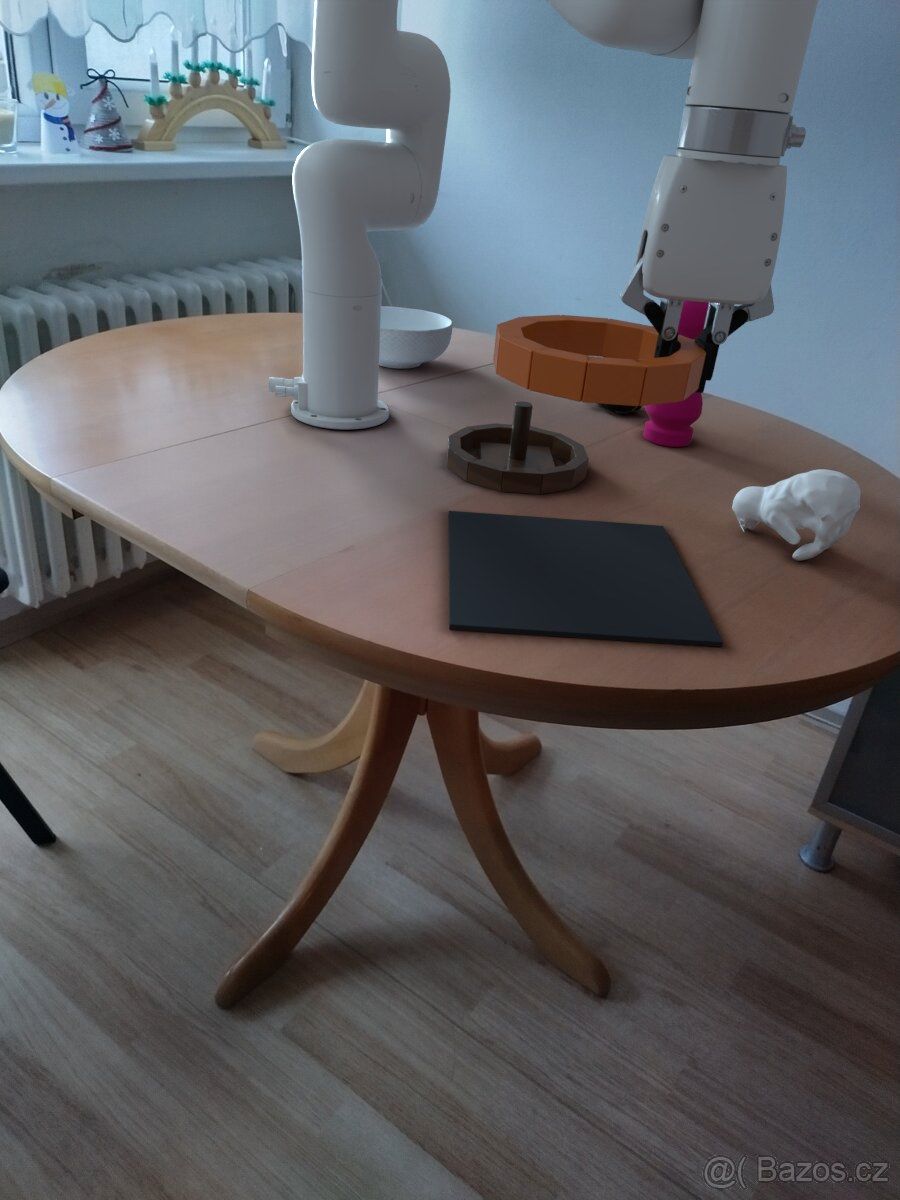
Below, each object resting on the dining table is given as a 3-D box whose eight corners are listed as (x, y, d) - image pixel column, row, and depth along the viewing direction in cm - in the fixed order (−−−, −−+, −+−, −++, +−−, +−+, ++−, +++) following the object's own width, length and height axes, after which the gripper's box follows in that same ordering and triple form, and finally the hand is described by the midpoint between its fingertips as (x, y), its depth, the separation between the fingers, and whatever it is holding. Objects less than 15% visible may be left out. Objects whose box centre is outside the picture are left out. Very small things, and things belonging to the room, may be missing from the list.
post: (481, 477, 97) (488, 412, 93) (479, 451, 104) (485, 390, 100) (555, 482, 97) (565, 418, 94) (548, 456, 105) (556, 395, 101)
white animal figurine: (847, 486, 78) (727, 458, 86) (827, 572, 82) (714, 537, 90) (874, 472, 82) (757, 446, 90) (855, 554, 86) (744, 522, 94)
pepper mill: (695, 452, 110) (733, 288, 100) (638, 444, 111) (670, 281, 101) (693, 434, 116) (728, 279, 106) (639, 427, 117) (669, 272, 107)
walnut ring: (447, 488, 94) (449, 467, 92) (446, 438, 107) (448, 419, 106) (593, 498, 94) (596, 477, 93) (573, 447, 108) (576, 429, 107)
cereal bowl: (448, 381, 129) (452, 333, 126) (337, 372, 129) (338, 324, 125) (450, 353, 144) (453, 309, 141) (350, 345, 144) (351, 301, 140)
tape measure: (633, 404, 127) (638, 378, 125) (646, 419, 121) (652, 392, 119) (588, 401, 126) (592, 376, 124) (599, 416, 120) (603, 390, 118)
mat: (449, 629, 68) (449, 624, 68) (448, 514, 87) (448, 510, 87) (721, 647, 69) (723, 642, 69) (662, 529, 88) (663, 525, 88)
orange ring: (500, 396, 64) (504, 356, 63) (489, 343, 79) (493, 309, 77) (719, 412, 65) (728, 372, 63) (669, 356, 79) (675, 323, 78)
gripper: (817, 146, 67) (757, 381, 76) (614, 128, 66) (578, 368, 75) (858, 150, 60) (787, 407, 69) (633, 131, 60) (591, 393, 69)
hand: (679, 385), depth 72 cm, fingers closed on orange ring, 2 cm apart
